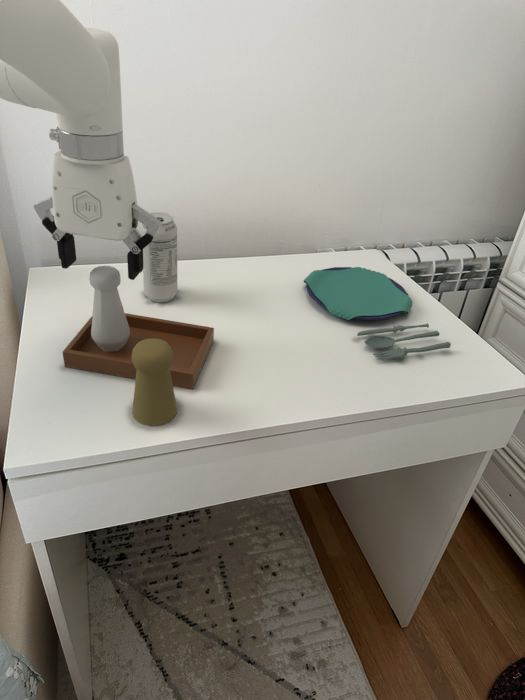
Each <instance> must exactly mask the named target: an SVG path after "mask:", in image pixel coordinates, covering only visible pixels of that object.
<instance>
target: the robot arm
mask: <svg viewBox="0 0 525 700" xmlns="http://www.w3.org/2000/svg"><path fill="white" fill-rule="evenodd" d="M119 47H120V46H119V43H118V41H117V38H116V37H115V35H113V34H112V33H111V32H109V31H107V30H103V29H100V28H93V27H85V26H84V25H83V24H82V23H81V22H80V21H79V19H78V18H77V17H76V16H75V14H74V13H72V12H71V10H70V9H69V8H68V7H67V6H66V5H65V4H64V3H63V2H62V1H61V0H0V99H2V100H4V101H7V102H9V103H12V104H16V105H21V106H24V107H29V108H31V109H37V110H38V109H39V110H43V111H47V112H50V113H55V114H56V120H57V127H56V128H50V129H49V133H48V136H49V140H51V141H55V142H57V143H58V149H59V151H56V152H55V153H54V155H53V163H52V164H53V165H52V176H51V177H52V179H51V194H52V195H51V196H50V197H47V198H45V199H42V200H40V201H38V202H37V203H34V205H33V209H34V211H35V212H36V214H37V216H38V217H39V219H40V220H41V224H42V225H43V227H44V228H45V229H46V230H47V231H48V232H49V233H50V234H51V238H52V240H53V241H56V246H57V254H58V259H59V260H60V266H61V268H62V269H67V270H68V268H70V267H71V266H72V265H73V264H74V263H76V261H77V251H76V242H75V236H82V237H88V238H94V239H100V240H107V241H115V242H121V241H123V243H124V245H125V246H126V247H127V248H128V250H129V251H128V252H127V253H126V261H127V276H128V279H129V280H131V281H134V280H135V279H136V278H137V277H138V276H139V274H140V273H143V266H144V265H143V249H144V248H145V247H146V246H147V245H148V244H150V243H151V242H152V240H153V239H154V238H155V236H156V234H157V233H158V231H159V229H160V228H161V226H162V222H161V221H160V220H159V219H157V218H156V217H154V216H153V215H151V214H150V213H151V212H148V211H147V210H145V209H144V208H142V207H141V206H140V205H138V200H137V199H138V197H137V191H136V185H135V178H134V174H133V169H132V165H131V161H130V159H129V156H127V155H125V150H124V149H125V148H124V147H125V146H124V129H123V127H124V126H123V108H122V105H123V103H122V83H121V63H120V62H121V61H120V48H119ZM51 209H52V211H53V213H52V211H51ZM139 223H141V225H142V224H144V225H145V226H146V227H147V231H146V233H145V235H143V236H142V235H141V232H140V231H139V230H138V229H137V228H138V226H139V225H138V224H139ZM74 235H75V236H74Z"/></svg>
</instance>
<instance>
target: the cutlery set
mask: <svg viewBox="0 0 525 700" xmlns="http://www.w3.org/2000/svg"><path fill="white" fill-rule="evenodd" d="M303 283H304V284H306V285H305V289H306V292H307V293H308V296H309V297H310V298H311V299H312V300H313V301H314V302H315V303H316V304H317V305H319V306H321V307H322V308H324V309H326V310H327V311H328V313H329V314H330V315H331V316H335V317H337V318H341V319H345V320H347V321H349V320H351V319H358V320H364V321H365V320H366V321H367V320H368V321H370V320H387V319H389V318H393V317H397V316H399V315H400V314H402V313H404V312H405V313H404V315H409V313H410V310H411V309H412V307H413V300H412V298H411V297H410V296H409V293H408V292H407V291H406V289H405V288H404V287H403V286H402V285H401V284H399V282H396V281H395V280H394V279H393V278H390V277H388V276H387V274H385V273H381V272H380V271H376V270H372V269H370V268H369V269H367V268H366V267H361V266H354V267H352V266H335V267H329V268H324V269H323V268H322V269H316V270H312V271H311V272H310V273H309V274H308V275H307V276H306V277H305V278H304V280H303ZM416 328H430V324H429V323H427V322H426V323H424V324H418V325H407V326H406V325H400V324H399V325H397V326H395V325H393V326H392V327H385V328H384V327H383V328H374V329H366V330H361V331H359V332H357V333H356V336H357V337H361V336H367V335H368V336H369V335H375V334H383V333H384V334H385V333H394V334H397V333H398V332H401V333H402V332H404V331H406V330H411V329H416ZM440 334H441V333H440V332H439V331H438V330H433V331H427V332H423V333H417V334H412V335H408V336H404V337H399V338H397V339H396V338H394V337H390V336H386V335H375V336H372V337H368V338H366V340H365V341H364V344H365V345H366V346H368V347H369V348H373V349H377V350H379V349H382V350H383V349H388V348H391V347H393V346H394V345H395V343H399V342H404V341H411V340H415V339H423V338H424V339H425V338H431V337H440ZM451 346H452V343H451V342H450V341H445V342H439V343H435V344H432V345H427V346H421V347H412V348H411V347H410V348H407V347H406V346H404V347H403V348H402V347H399V346H398V347H396V348H393V349H389V350H386V351H383V352H377V353H373V354H372V355H373V356H374V357H375V358H376V360H379V361H381V360H391V359H403V358H404V357H405V356H407V355H408V354H412V353H415V354H416V353H417V354H418V353H426V352H431V351H436V350H442V349H450V348H451Z"/></svg>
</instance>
